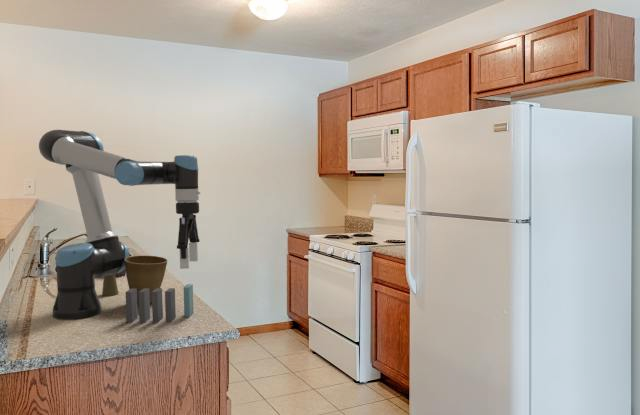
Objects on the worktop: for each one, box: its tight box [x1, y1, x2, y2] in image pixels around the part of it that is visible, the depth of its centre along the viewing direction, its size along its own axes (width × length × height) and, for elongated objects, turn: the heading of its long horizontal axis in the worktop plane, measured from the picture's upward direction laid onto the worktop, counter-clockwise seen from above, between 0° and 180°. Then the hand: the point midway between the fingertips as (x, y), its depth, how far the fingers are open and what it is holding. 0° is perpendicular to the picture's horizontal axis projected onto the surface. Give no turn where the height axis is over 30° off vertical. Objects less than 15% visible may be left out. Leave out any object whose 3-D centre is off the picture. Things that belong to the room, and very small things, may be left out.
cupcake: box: [115, 268, 126, 278], centre depth 244 cm, size 10×10×10 cm
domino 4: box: [164, 287, 177, 323], centre depth 170 cm, size 2×5×10 cm, turn 0°
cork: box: [101, 274, 119, 297], centre depth 207 cm, size 6×6×11 cm
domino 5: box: [183, 283, 194, 318], centre depth 176 cm, size 2×5×10 cm, turn 0°
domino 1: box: [125, 289, 138, 324], centre depth 171 cm, size 2×5×10 cm, turn 0°
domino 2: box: [138, 288, 151, 324], centre depth 171 cm, size 2×5×10 cm, turn 0°
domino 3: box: [151, 287, 164, 324], centre depth 170 cm, size 2×5×10 cm, turn 0°
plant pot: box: [125, 255, 168, 305], centre depth 193 cm, size 15×15×16 cm
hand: (189, 264), depth 177 cm, fingers open, 13 cm apart
